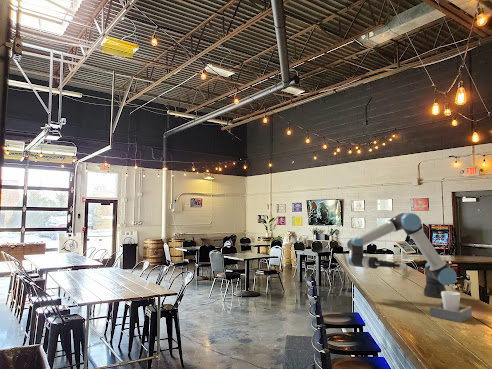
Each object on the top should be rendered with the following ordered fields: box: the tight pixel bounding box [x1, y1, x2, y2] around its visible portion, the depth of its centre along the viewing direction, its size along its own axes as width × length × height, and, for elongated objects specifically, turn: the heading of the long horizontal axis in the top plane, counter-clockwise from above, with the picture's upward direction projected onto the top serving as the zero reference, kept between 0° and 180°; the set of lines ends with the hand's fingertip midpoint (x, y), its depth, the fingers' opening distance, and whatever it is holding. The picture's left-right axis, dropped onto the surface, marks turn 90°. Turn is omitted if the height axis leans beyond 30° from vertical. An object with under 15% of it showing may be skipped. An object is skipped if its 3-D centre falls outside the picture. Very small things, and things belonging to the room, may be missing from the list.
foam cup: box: [441, 290, 461, 312], centre depth 204 cm, size 10×9×13 cm
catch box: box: [429, 302, 473, 323], centre depth 203 cm, size 16×16×6 cm
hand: (405, 266), depth 223 cm, fingers closed
